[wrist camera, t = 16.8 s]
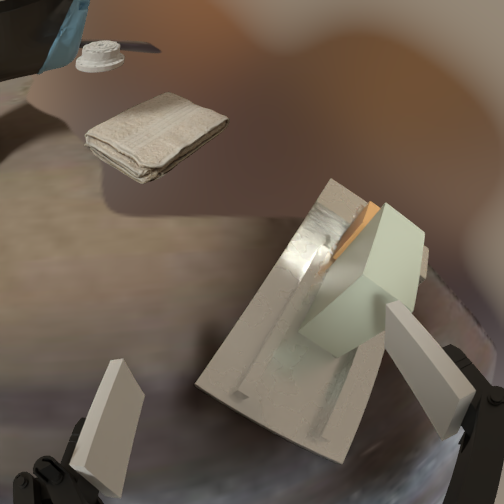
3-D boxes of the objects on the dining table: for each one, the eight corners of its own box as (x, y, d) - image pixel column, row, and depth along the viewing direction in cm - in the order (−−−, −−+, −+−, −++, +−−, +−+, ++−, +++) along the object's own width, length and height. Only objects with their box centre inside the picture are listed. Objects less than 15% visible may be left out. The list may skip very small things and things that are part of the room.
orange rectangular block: (332, 257, 32) (362, 222, 27) (342, 235, 35) (370, 200, 30) (366, 280, 32) (400, 249, 27) (373, 257, 34) (404, 226, 30)
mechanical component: (127, 56, 50) (82, 57, 47) (129, 38, 47) (83, 38, 43) (120, 73, 45) (69, 75, 42) (122, 52, 42) (70, 54, 38)
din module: (297, 331, 26) (362, 274, 18) (330, 265, 32) (385, 202, 24) (337, 357, 26) (413, 311, 18) (364, 288, 31) (424, 233, 24)
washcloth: (78, 151, 32) (77, 131, 30) (166, 100, 44) (169, 84, 41) (147, 194, 32) (148, 173, 29) (228, 130, 43) (233, 113, 40)
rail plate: (193, 385, 22) (205, 369, 17) (308, 212, 37) (330, 178, 32) (337, 463, 21) (380, 462, 16) (399, 275, 36) (428, 249, 31)
